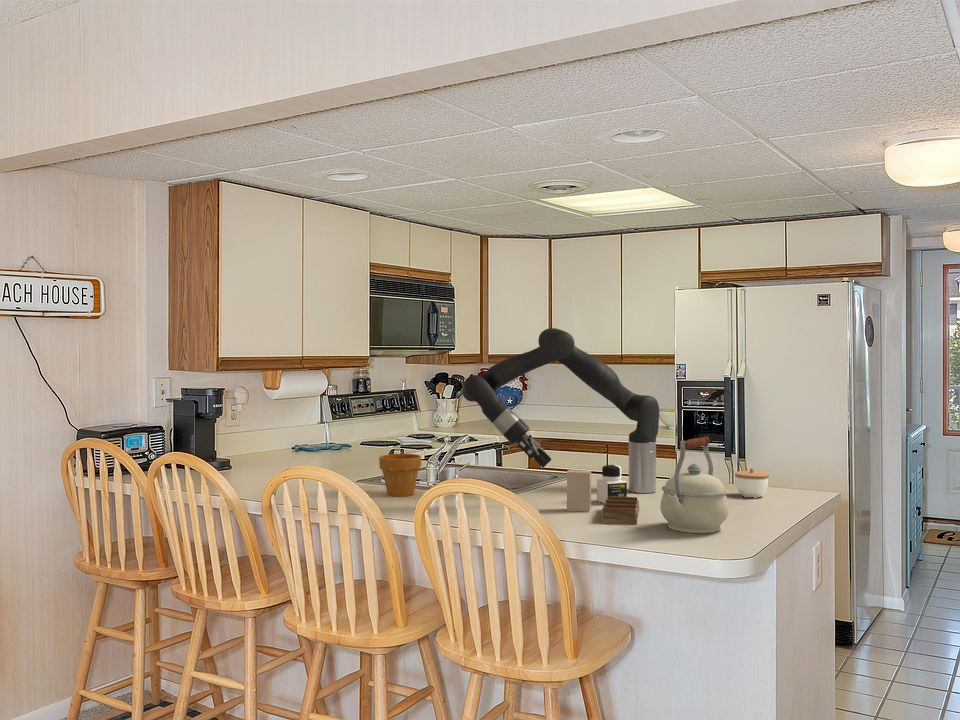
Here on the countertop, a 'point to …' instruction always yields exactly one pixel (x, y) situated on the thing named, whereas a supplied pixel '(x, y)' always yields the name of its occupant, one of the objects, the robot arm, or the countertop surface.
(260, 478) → the countertop surface
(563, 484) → the countertop surface
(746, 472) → the lidded jar
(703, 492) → the kettle
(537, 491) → the countertop surface
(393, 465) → the flower pot
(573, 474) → the tall beige block
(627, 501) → the rack
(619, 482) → the medicine bottle
